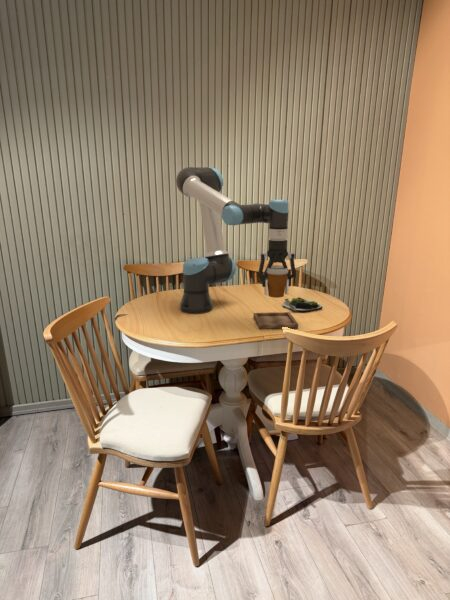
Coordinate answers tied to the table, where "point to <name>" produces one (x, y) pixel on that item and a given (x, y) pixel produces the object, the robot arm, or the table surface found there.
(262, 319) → the walnut tray
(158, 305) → the table surface
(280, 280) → the disposable coffee cup
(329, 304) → the table surface
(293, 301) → the salad plate
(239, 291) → the table surface
